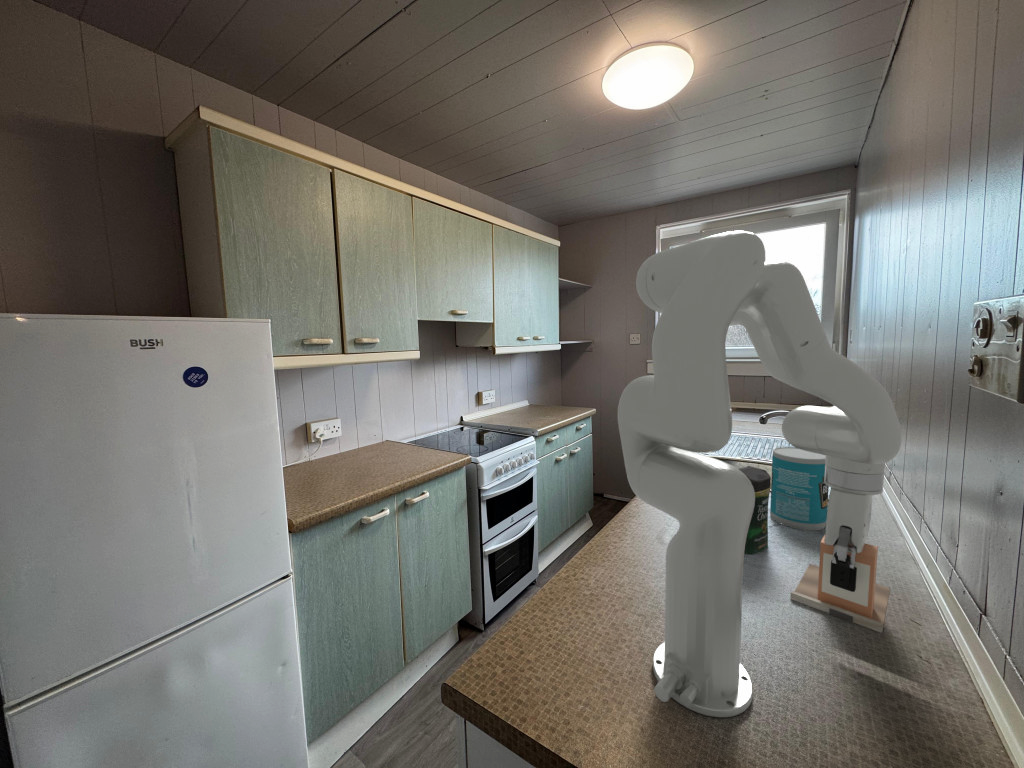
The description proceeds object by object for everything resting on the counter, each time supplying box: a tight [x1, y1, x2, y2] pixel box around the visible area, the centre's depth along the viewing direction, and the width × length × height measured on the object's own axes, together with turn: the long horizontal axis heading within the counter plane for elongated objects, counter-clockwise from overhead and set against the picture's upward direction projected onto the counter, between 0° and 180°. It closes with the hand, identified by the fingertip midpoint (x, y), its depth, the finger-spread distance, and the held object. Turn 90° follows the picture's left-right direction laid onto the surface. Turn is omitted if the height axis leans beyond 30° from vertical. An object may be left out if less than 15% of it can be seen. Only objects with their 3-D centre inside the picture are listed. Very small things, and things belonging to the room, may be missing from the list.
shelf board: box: [790, 563, 891, 634], centre depth 73 cm, size 16×12×2 cm
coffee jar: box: [738, 465, 772, 555], centre depth 90 cm, size 10×8×19 cm
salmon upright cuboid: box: [818, 534, 879, 619], centre depth 69 cm, size 5×7×11 cm, turn 44°
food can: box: [769, 446, 830, 531], centre depth 104 cm, size 12×12×18 cm
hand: (846, 575), depth 69 cm, fingers open, 9 cm apart
